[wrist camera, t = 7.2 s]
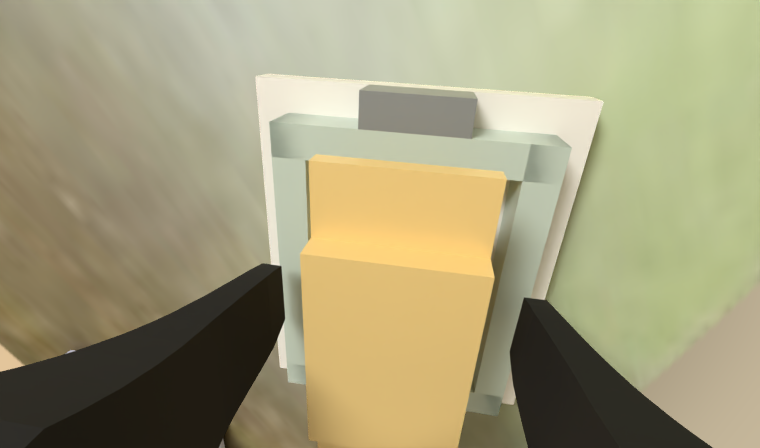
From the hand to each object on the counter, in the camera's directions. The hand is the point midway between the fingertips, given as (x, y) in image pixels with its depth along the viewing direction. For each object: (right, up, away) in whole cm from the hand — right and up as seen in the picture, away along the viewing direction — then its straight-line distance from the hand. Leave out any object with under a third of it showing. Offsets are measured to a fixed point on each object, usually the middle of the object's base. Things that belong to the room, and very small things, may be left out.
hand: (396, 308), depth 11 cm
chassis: (+1, +1, +3) cm, 3 cm away
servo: (0, +1, +2) cm, 3 cm away
